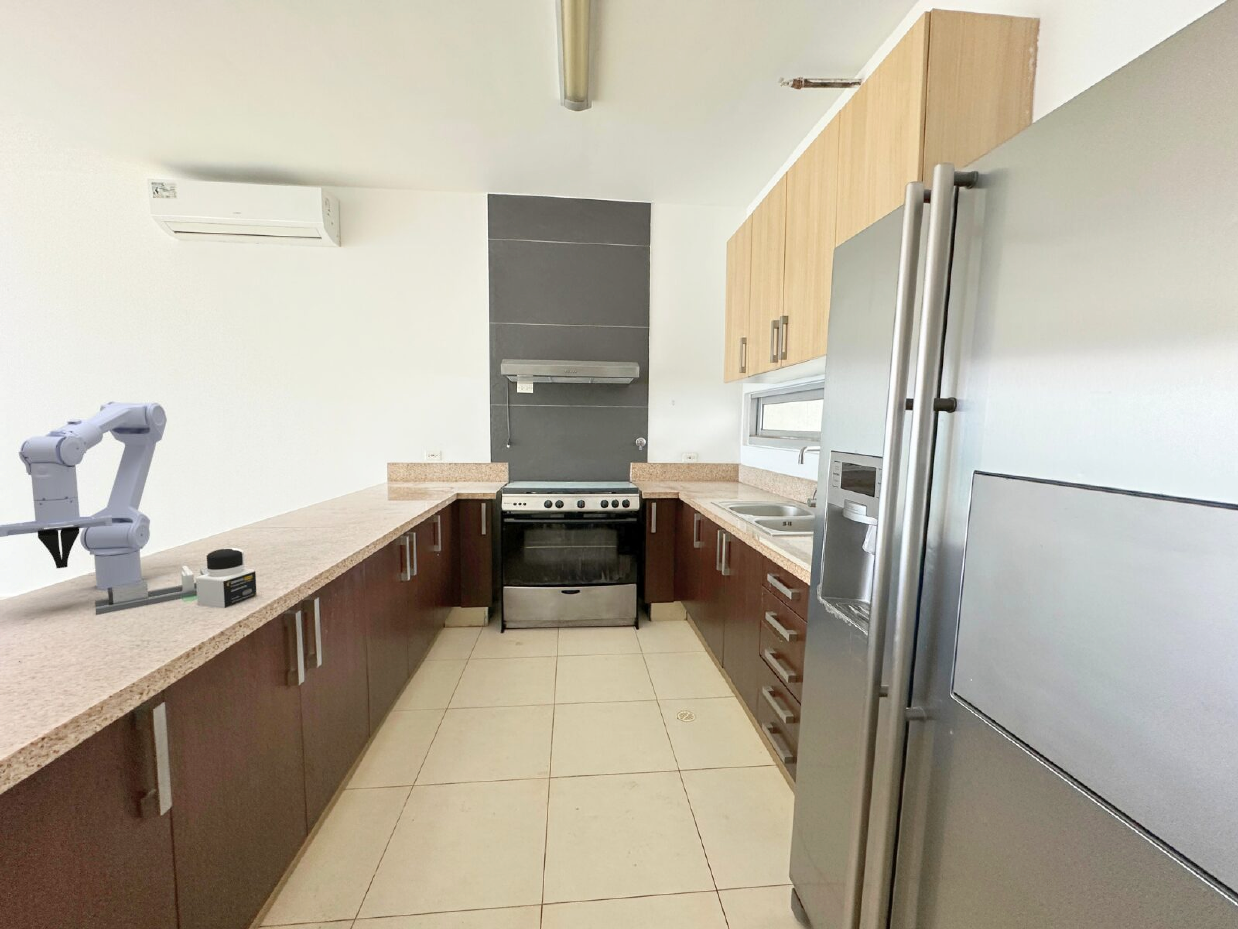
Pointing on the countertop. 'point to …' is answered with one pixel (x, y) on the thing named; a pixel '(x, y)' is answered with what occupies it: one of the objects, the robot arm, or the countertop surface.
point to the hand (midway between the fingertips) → (62, 566)
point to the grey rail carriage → (127, 592)
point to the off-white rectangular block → (187, 579)
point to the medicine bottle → (225, 579)
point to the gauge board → (148, 601)
